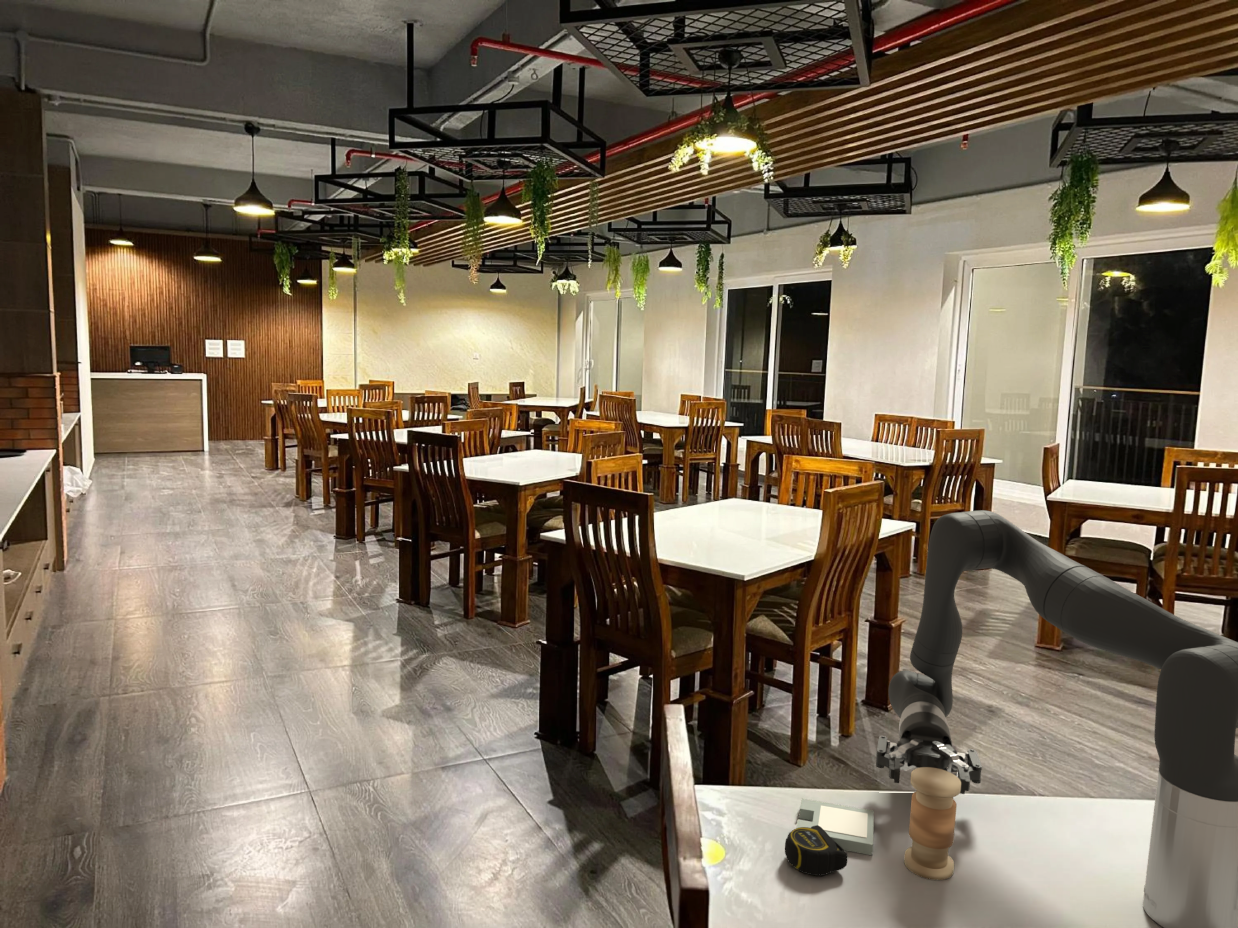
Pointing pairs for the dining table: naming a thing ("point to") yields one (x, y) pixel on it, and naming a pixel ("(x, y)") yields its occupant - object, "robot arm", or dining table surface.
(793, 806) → the dining table surface
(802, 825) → the plate
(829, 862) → the tape measure
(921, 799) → the bobbin
